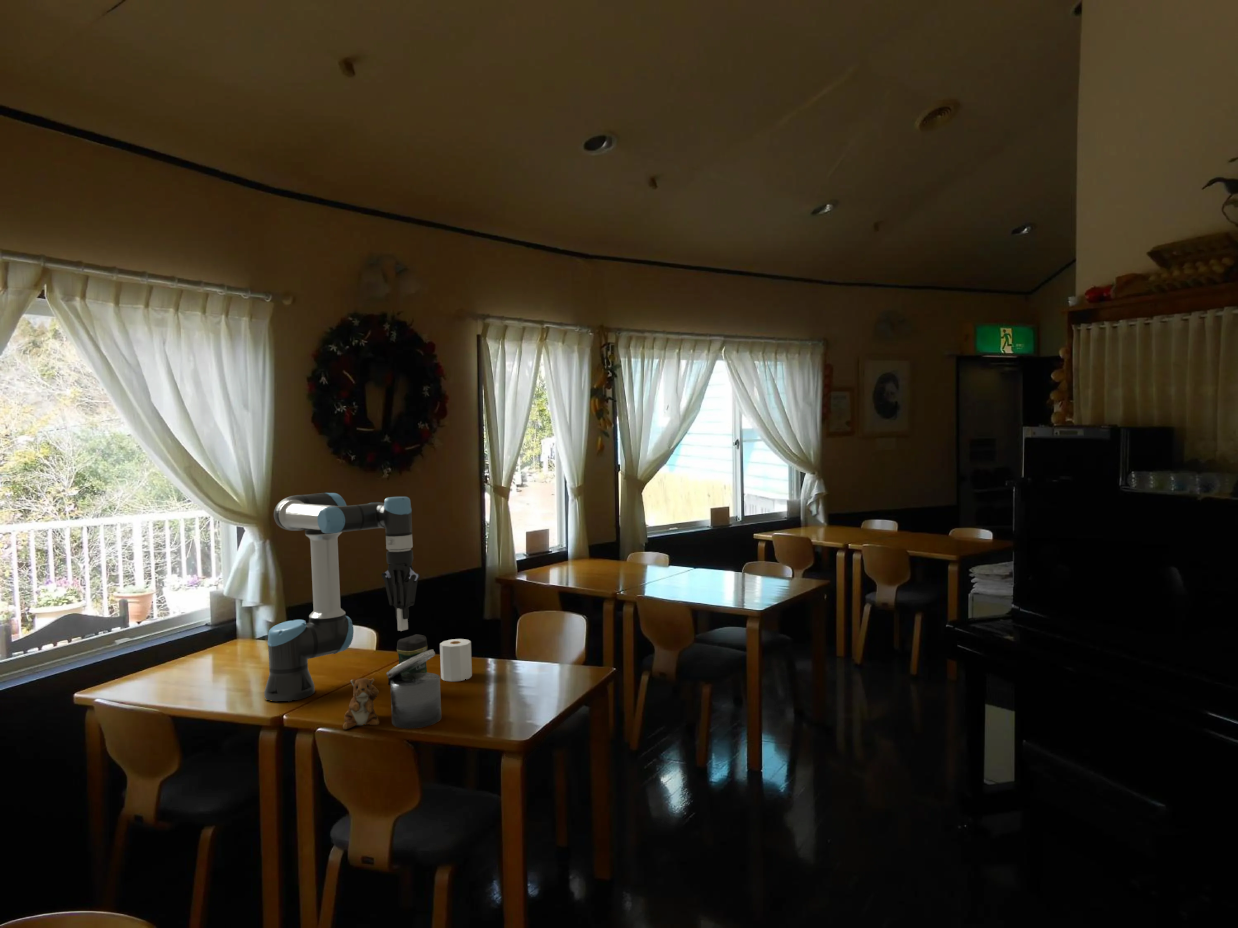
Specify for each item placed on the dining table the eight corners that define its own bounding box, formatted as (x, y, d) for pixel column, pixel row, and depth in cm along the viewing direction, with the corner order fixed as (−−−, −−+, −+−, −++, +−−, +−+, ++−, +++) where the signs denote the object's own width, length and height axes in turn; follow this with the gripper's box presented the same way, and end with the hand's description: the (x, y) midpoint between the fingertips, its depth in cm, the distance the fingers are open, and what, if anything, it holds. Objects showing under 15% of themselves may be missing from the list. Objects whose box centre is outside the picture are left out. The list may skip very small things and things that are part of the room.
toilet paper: (435, 677, 280) (434, 642, 279) (462, 671, 286) (461, 636, 286) (450, 683, 272) (449, 647, 272) (477, 676, 279) (476, 641, 278)
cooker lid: (376, 684, 235) (374, 679, 235) (411, 670, 247) (409, 666, 248) (410, 661, 228) (408, 657, 228) (444, 649, 241) (442, 644, 241)
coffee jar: (412, 699, 257) (409, 640, 256) (393, 695, 261) (391, 638, 260) (433, 690, 265) (431, 633, 264) (415, 687, 269) (413, 631, 268)
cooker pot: (377, 723, 235) (376, 682, 235) (411, 708, 248) (409, 669, 247) (419, 731, 228) (417, 689, 228) (451, 715, 241) (449, 675, 240)
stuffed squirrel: (342, 731, 230) (340, 685, 230) (346, 714, 244) (344, 671, 243) (378, 727, 233) (377, 681, 232) (381, 711, 246) (379, 668, 246)
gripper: (373, 550, 238) (376, 630, 238) (407, 552, 232) (411, 634, 232) (391, 547, 244) (395, 625, 245) (425, 548, 238) (428, 628, 239)
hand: (402, 629), depth 239 cm, fingers closed
